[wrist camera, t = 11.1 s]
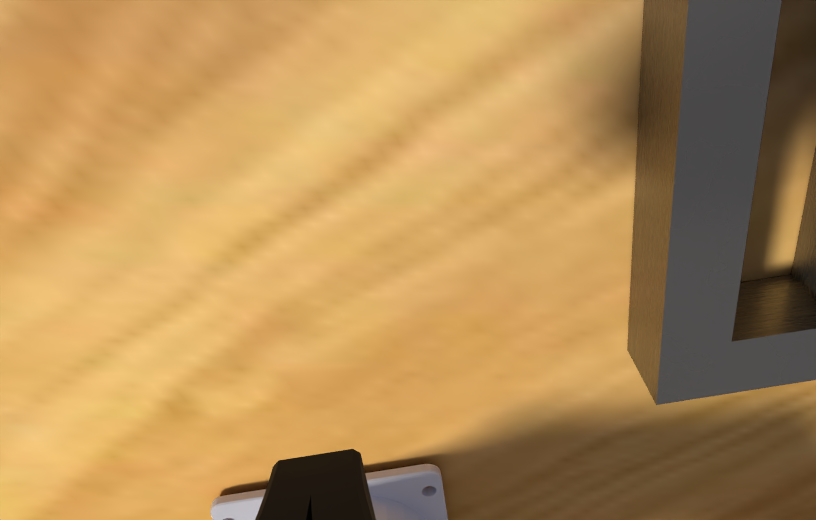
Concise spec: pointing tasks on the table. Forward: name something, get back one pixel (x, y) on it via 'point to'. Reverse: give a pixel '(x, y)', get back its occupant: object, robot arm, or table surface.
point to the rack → (711, 210)
